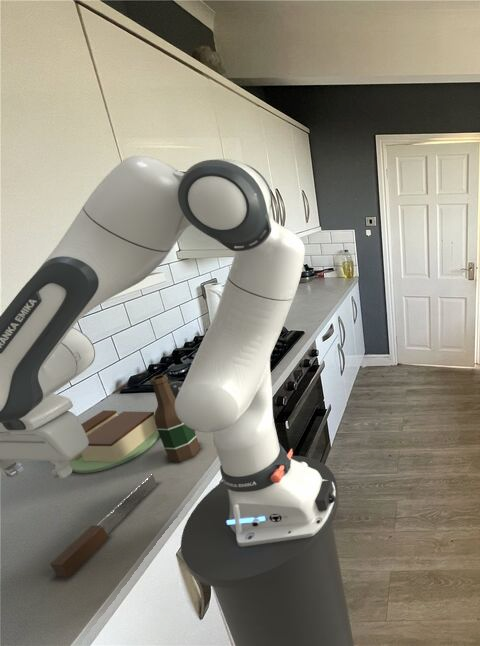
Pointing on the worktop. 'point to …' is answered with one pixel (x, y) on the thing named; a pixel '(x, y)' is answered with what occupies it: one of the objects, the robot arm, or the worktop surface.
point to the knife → (99, 532)
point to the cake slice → (96, 423)
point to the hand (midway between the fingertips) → (39, 474)
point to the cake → (117, 442)
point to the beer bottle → (172, 424)
